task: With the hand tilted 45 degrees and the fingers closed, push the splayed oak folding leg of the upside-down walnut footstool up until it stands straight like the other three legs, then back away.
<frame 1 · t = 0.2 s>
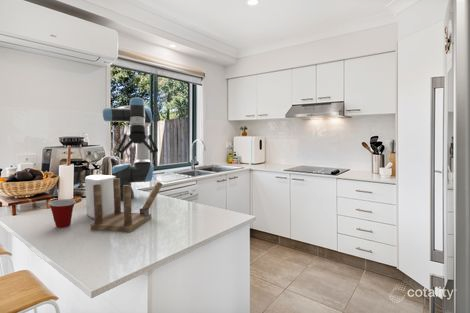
hand: (138, 165, 139), 28 cm above the counter, fingers open, 13 cm apart
hinge bracket: (144, 219, 137), resting on footstool
white canister: (98, 215, 145), on the counter
footstool: (122, 223, 131), on the counter
folding leg: (152, 196, 140), point 11 cm above the counter, hinge at 35.0°
plastic cup: (63, 226, 128), on the counter
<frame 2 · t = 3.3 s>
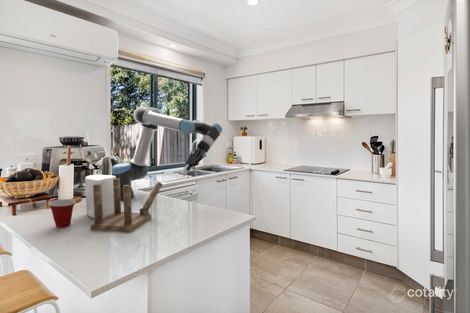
hand: (182, 174, 152), 21 cm above the counter, fingers closed
nothing on the counter moved.
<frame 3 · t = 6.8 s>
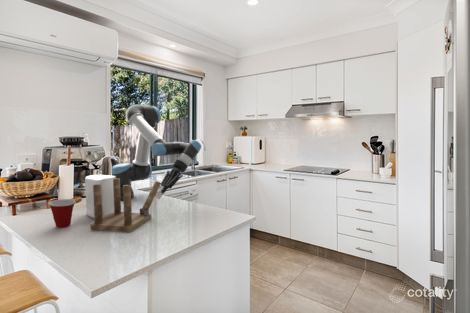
hand: (157, 197, 141), 10 cm above the counter, fingers closed
folding leg: (151, 196, 139), point 12 cm above the counter, hinge at 30.7°, touching gripper
everything else where it was.
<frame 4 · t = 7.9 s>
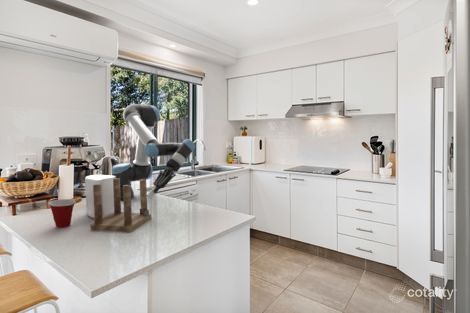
hand: (149, 197, 138), 11 cm above the counter, fingers closed
folding leg: (143, 195, 136), point 13 cm above the counter, hinge at -1.1°, touching gripper
everything else where it was.
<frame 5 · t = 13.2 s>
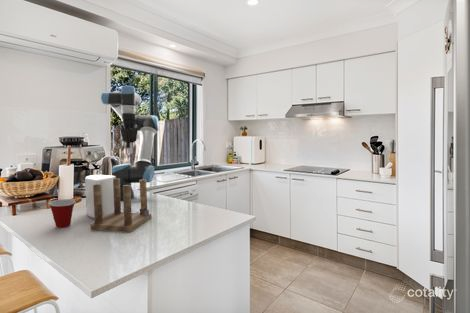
hand: (130, 153, 157), 32 cm above the counter, fingers closed
folding leg: (143, 195, 136), point 13 cm above the counter, hinge at -1.2°
everything else where it was.
at the end: folding leg at -1° (first picture: +35°) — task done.
